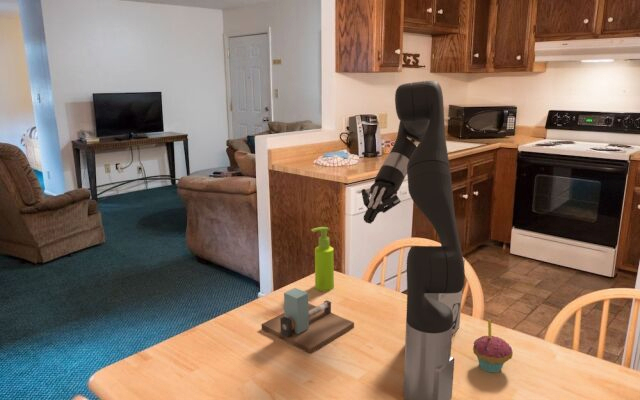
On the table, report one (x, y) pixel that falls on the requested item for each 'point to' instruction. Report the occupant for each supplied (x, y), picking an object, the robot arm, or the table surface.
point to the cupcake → (492, 351)
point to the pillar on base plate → (310, 328)
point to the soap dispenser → (324, 262)
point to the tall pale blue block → (297, 308)
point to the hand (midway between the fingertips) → (367, 221)
